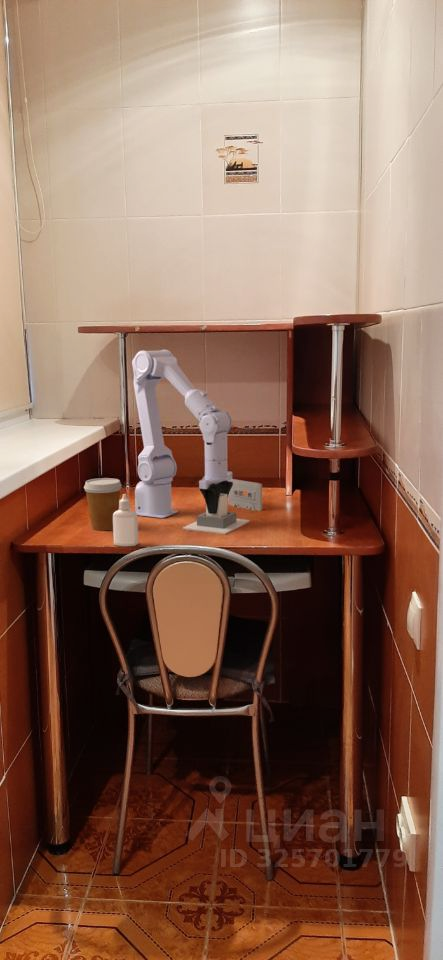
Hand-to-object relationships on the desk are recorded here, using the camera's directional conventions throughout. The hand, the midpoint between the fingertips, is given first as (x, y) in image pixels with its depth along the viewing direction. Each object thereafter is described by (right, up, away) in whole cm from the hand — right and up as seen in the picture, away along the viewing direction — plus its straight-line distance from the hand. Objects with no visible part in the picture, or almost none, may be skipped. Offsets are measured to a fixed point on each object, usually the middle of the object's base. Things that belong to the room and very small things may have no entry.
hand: (216, 511), depth 197 cm
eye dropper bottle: (-21, -7, -16) cm, 28 cm away
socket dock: (0, -4, +1) cm, 4 cm away
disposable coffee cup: (-29, -4, 0) cm, 29 cm away
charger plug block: (0, -2, 0) cm, 2 cm away
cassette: (+8, 0, +20) cm, 21 cm away
